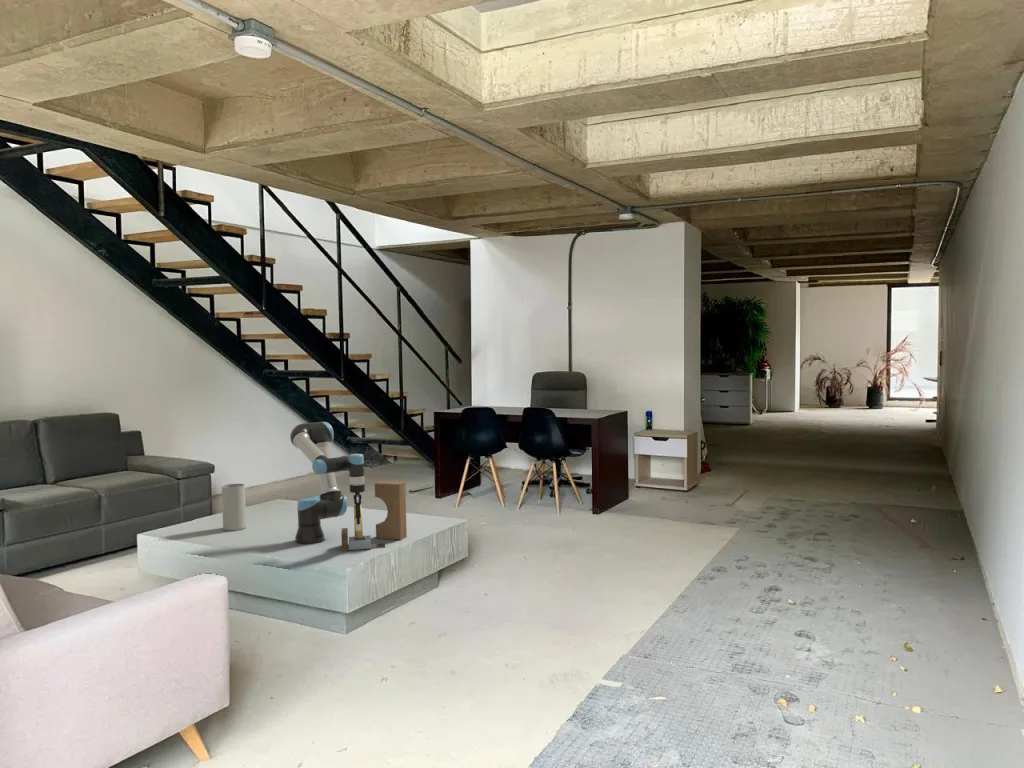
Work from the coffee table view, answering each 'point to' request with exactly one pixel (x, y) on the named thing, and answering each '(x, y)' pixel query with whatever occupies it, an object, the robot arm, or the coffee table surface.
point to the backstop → (344, 539)
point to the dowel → (359, 532)
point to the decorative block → (392, 510)
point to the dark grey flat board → (376, 545)
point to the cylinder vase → (233, 507)
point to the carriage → (360, 543)
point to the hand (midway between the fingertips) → (358, 529)
